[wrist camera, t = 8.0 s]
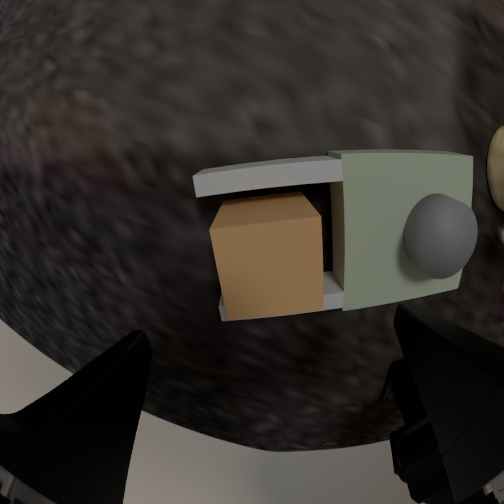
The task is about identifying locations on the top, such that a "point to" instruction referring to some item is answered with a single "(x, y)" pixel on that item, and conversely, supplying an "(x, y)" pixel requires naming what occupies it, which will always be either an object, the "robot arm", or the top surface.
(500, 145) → the hand bell
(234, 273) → the cardboard shipping carton
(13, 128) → the top surface
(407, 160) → the two-pronged gray clamp
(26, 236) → the top surface
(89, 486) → the robot arm
